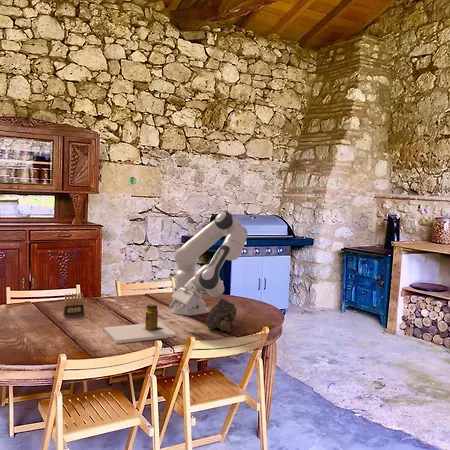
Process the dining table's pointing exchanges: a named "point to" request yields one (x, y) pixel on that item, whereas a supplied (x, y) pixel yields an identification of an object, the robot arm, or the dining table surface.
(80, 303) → the ammunition clip
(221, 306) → the rock
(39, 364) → the dining table surface
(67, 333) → the dining table surface
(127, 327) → the tile board
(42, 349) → the dining table surface
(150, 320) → the condiment
